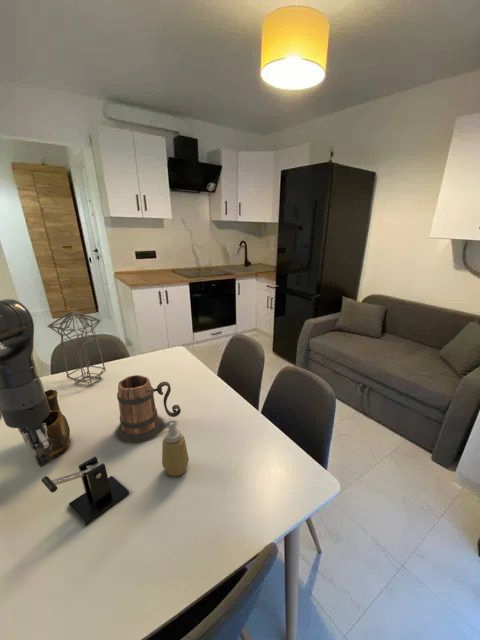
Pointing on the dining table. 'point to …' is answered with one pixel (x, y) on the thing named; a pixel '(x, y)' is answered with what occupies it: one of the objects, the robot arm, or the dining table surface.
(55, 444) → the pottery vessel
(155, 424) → the tankard
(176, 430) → the squeeze bottle
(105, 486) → the bracket
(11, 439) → the dining table surface
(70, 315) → the geometric lantern
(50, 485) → the lever
